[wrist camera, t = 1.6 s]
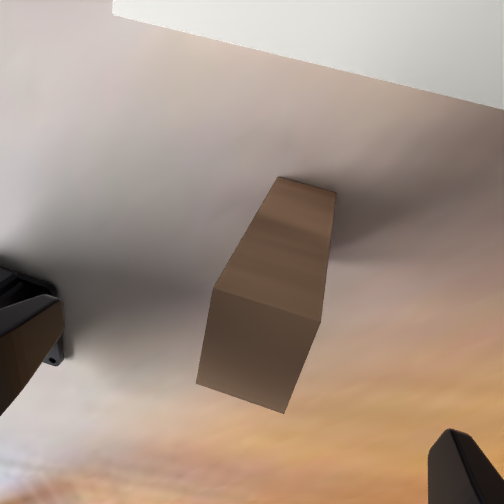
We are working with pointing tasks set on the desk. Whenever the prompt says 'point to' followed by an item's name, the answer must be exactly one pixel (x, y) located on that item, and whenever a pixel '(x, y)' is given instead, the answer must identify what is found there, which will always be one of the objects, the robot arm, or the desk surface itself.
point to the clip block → (358, 37)
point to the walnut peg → (270, 298)
